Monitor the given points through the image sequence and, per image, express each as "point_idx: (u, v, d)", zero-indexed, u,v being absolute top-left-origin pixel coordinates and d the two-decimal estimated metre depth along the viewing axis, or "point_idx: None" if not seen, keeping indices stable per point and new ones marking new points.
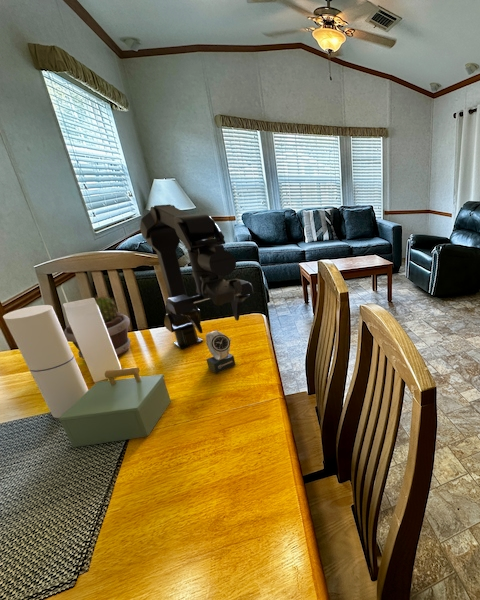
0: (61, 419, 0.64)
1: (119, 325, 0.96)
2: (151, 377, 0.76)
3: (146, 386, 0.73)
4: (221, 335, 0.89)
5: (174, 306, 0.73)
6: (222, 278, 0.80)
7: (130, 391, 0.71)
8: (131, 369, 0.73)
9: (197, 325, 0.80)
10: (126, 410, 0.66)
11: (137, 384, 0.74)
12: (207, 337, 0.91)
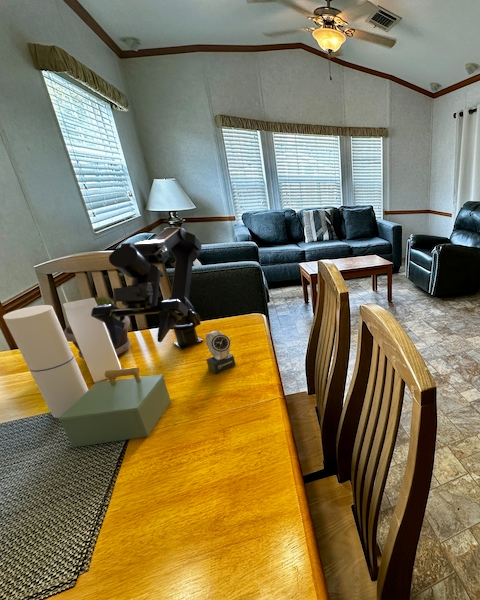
0: (61, 419, 0.64)
1: None
2: (151, 377, 0.76)
3: (146, 386, 0.73)
4: (221, 335, 0.89)
5: None
6: None
7: (130, 391, 0.71)
8: (131, 369, 0.73)
9: (111, 335, 0.78)
10: (126, 410, 0.66)
11: (137, 384, 0.74)
12: (207, 337, 0.91)
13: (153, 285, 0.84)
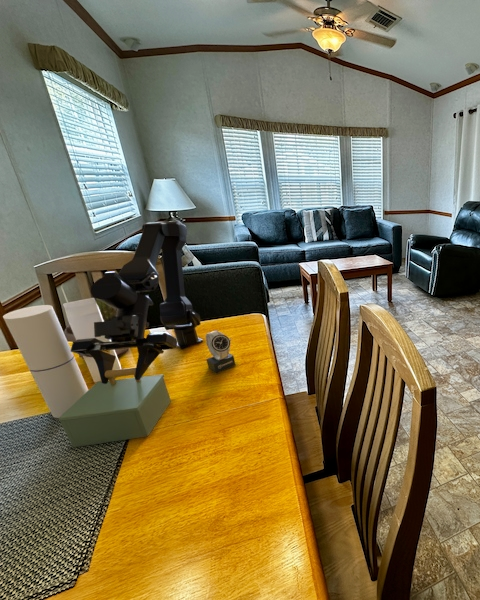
0: (61, 419, 0.64)
1: None
2: (151, 377, 0.76)
3: (146, 386, 0.73)
4: (221, 335, 0.89)
5: None
6: None
7: (130, 391, 0.71)
8: (131, 369, 0.73)
9: (100, 371, 0.72)
10: (126, 410, 0.66)
11: (137, 384, 0.74)
12: (207, 337, 0.91)
13: (140, 316, 0.77)
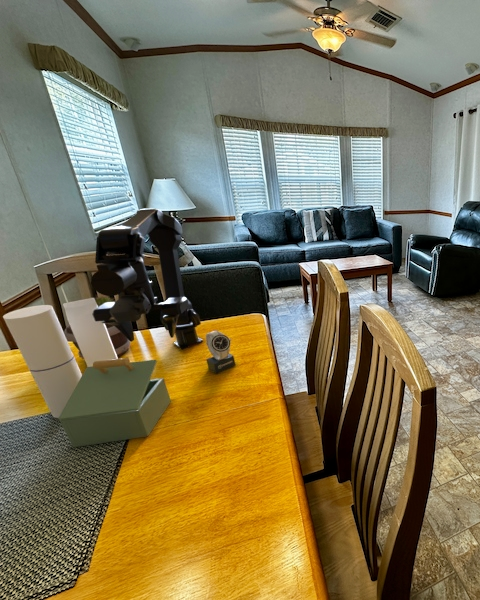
0: (61, 419, 0.64)
1: None
2: (143, 363, 0.73)
3: (141, 377, 0.71)
4: (221, 335, 0.89)
5: None
6: (139, 295, 0.77)
7: (125, 383, 0.70)
8: (120, 361, 0.70)
9: (124, 333, 0.81)
10: (126, 410, 0.66)
11: (130, 373, 0.72)
12: (207, 337, 0.91)
13: (144, 285, 0.78)
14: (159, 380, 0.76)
